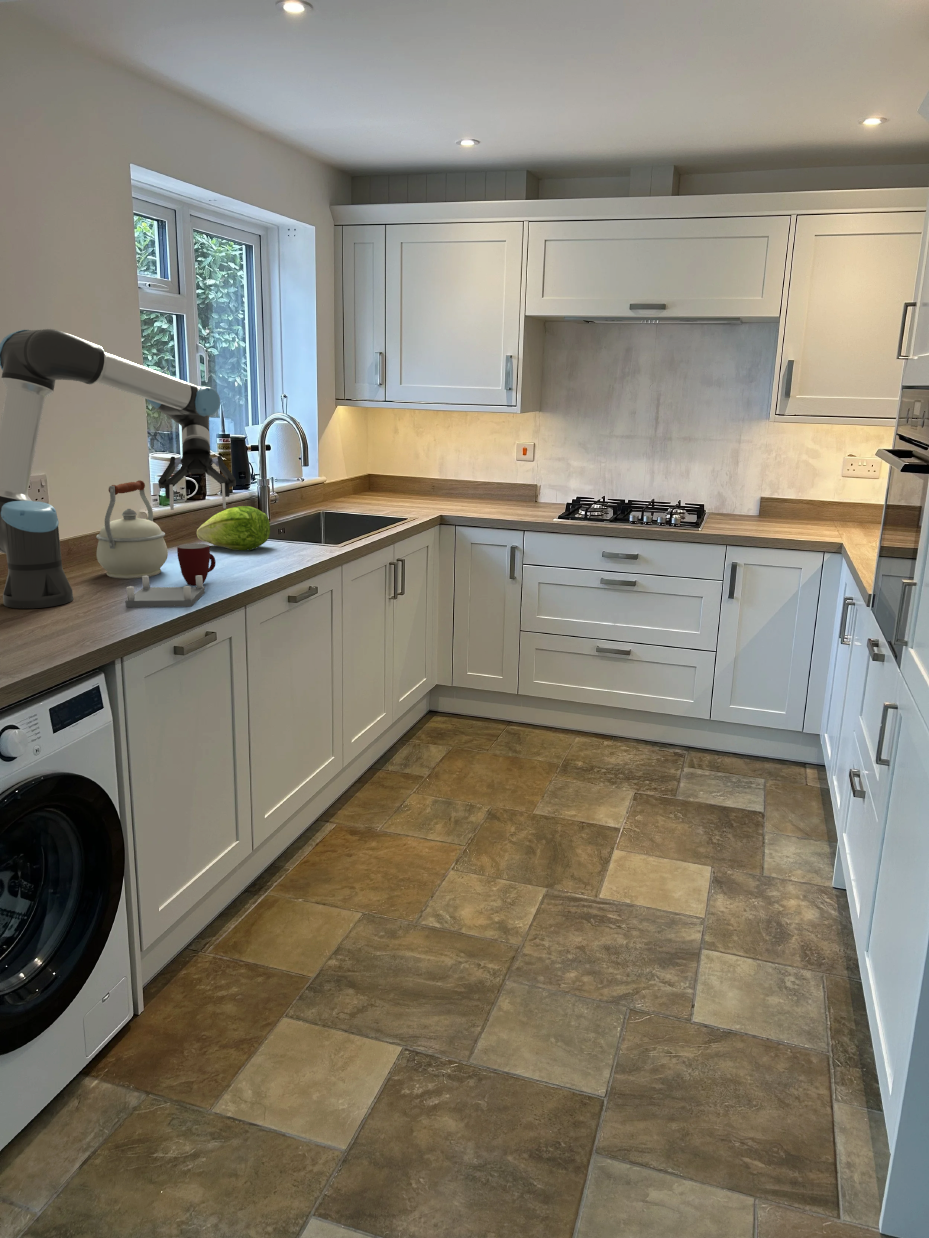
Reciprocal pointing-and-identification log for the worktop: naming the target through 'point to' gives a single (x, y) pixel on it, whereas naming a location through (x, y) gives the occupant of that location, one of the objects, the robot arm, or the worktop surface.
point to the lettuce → (236, 528)
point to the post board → (165, 595)
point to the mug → (195, 561)
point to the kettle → (131, 540)
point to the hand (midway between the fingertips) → (198, 506)
